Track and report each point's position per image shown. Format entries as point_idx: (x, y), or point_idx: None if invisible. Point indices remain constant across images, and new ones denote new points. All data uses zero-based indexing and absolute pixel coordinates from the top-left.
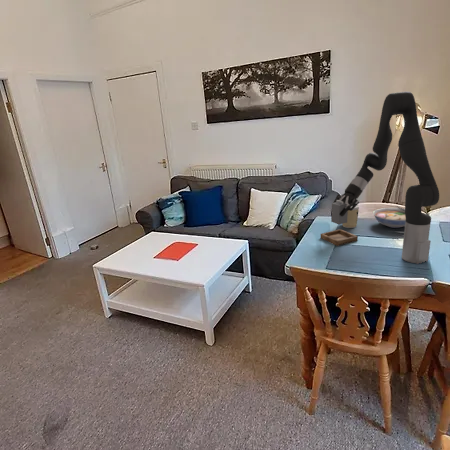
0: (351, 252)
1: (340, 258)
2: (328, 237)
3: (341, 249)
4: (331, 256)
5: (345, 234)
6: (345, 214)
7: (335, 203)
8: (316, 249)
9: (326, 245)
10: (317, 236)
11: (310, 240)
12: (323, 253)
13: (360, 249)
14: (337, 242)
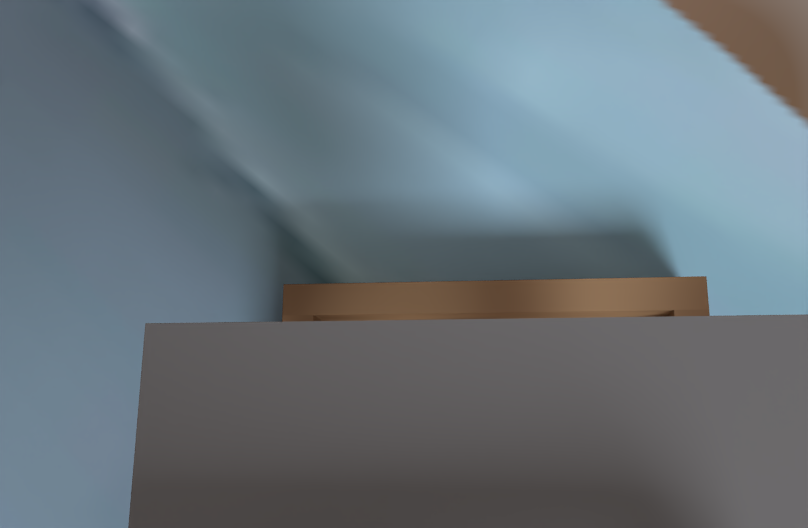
0: (54, 316)
1: (20, 100)
2: (494, 281)
3: (192, 274)
4: (116, 49)
5: None
6: None
7: (637, 454)
8: (372, 16)
9: (406, 195)
10: (783, 298)
11: (685, 116)
12: (230, 21)
13: (46, 483)
14: (286, 289)
